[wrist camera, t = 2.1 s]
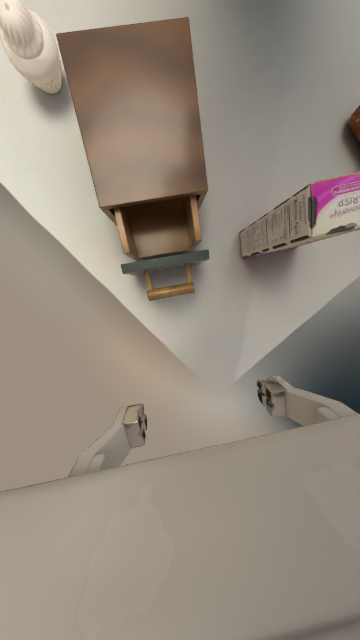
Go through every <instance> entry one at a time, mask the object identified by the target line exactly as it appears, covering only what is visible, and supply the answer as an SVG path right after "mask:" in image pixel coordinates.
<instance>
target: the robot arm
mask: <svg viewBox="0 0 360 640" xmlns="http://www.w3.org/2000/svg"><path fill="white" fill-rule="evenodd" d="M257 386H258V387H259V389H258V397H259V400H260V401H261V403H262V404H263V405H264V406H266V407H267V411H268V412H269V413H270V415H271V416H272V417H273V418H276V417H281V416H287V417H288V418H290V419H292V420H294V421H295V422H297V423H299V424H301V425H302V426H303V427H299V428H294V429H289V430H285V431H280V432H275V433H271V434H266V435H261V436H257V437H252V438H248V439H243V440H238V441H234V442H229V443H225V444H220V445H216V446H211V447H206V448H201V449H197V450H192V451H187V452H183V453H178V454H173V455H169V456H164V457H160V458H155V459H150V460H146V461H141V462H136V463H132V464H127V465H122V466H120V465H121V464H122V462H123V460H124V459H125V458H126V456H127V455H128V453H129V452H130V450H131V448H135V447H140V446H143V445H144V444H145V437H146V435H145V431H146V430H147V418H146V414H144V407H143V404H137V405H132V406H127V407H122V408H120V409H119V411H118V414H117V416H116V419H115V422H114V424H113V427H110V428H109V429H108V430H107V431H106V432H105V433H104V434H103V435H102V436H101V437H99V438H98V439H97V440H96V441H95V442H94V443H93V444H92V445H91V446H90V447H89V448H88V449H87V450H86V451H85V452H84V453H82V454H81V455H80V457H78V458H77V460H76V462H75V464H74V466H73V468H72V470H71V472H70V474H69V476H68V477H67V478H62V479H57V480H53V481H48V482H44V483H39V484H34V485H29V486H25V487H20V488H16V489H11V490H6V491H1V492H0V640H360V414H357V413H356V412H355V411H353V410H352V409H350V408H349V407H347V406H346V405H344V404H343V403H341V402H338V401H335V400H332V399H329V398H326V397H323V396H320V395H317V394H314V393H310V392H307V391H304V390H301V389H298V388H296V389H295V388H293V387H292V386H291V385H290V384H289V383H287V382H286V381H285V380H284V379H283V378H281V377H280V376H274V377H270V378H266V379H261V380H257Z"/></svg>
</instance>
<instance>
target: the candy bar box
mask: <svg viewBox="0 0 360 640" xmlns="http://www.w3.org/2000/svg"><path fill="white" fill-rule="evenodd" d="M356 230H360V172H358V173H353V174H349V175H344V176H340V177H335V178H330V179H326V180H321V181H316V182H312V183H310V184H309V185H307V186H306V187H304V188H303V189H302V190H300V191H299V192H297V193H296V194H295V195H293V196H292V197H290V198H289V199H287V200H286V201H284V202H283V203H281V204H280V205H279V206H277V207H275V208H274V209H273V210H271V211H270V212H269V213H267V214H266V215H264V216H263V217H261V218H260V219H258V220H257V221H256V222H254V223H253V224H251V225H250V226H248V227H247V228H245V229H244V230H242V231H241V232H240V233H239V234H240V242H241V252H242V259H243V258H248V257H253V256H258V255H262V254H267V253H271V252H276V251H280V250H284V249H289V248H293V247H298V246H301V245H304V244H308V243H312V242H315V241H319V240H323V239H326V238H330V237H334V236H338V235H341V234H345V233H349V232H352V231H356Z"/></svg>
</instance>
